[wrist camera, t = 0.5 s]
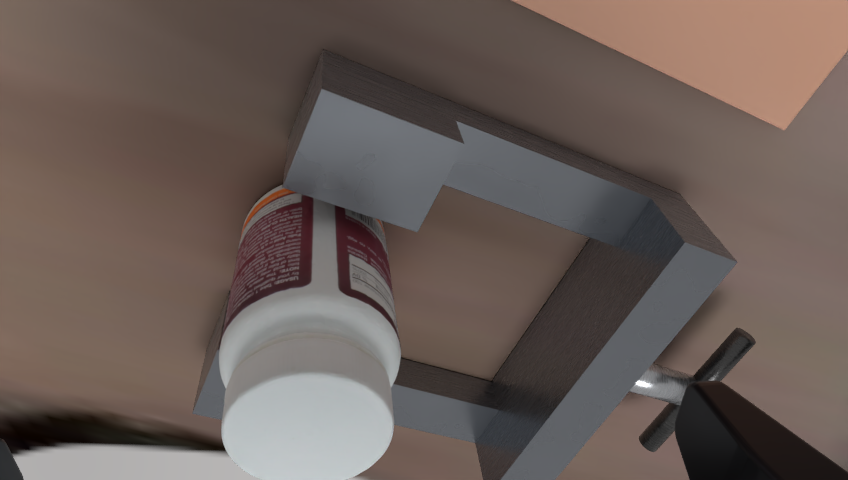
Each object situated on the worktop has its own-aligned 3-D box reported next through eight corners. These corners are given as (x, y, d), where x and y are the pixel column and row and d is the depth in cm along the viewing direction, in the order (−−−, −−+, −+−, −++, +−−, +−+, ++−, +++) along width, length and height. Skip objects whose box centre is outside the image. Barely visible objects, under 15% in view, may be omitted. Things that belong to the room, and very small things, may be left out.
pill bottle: (240, 288, 23) (202, 498, 17) (245, 167, 21) (202, 355, 14) (376, 297, 24) (393, 501, 17) (396, 182, 22) (426, 367, 15)
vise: (773, 232, 25) (841, 301, 21) (593, 444, 30) (625, 524, 27) (322, 49, 19) (321, 104, 16) (206, 350, 25) (186, 437, 22)
